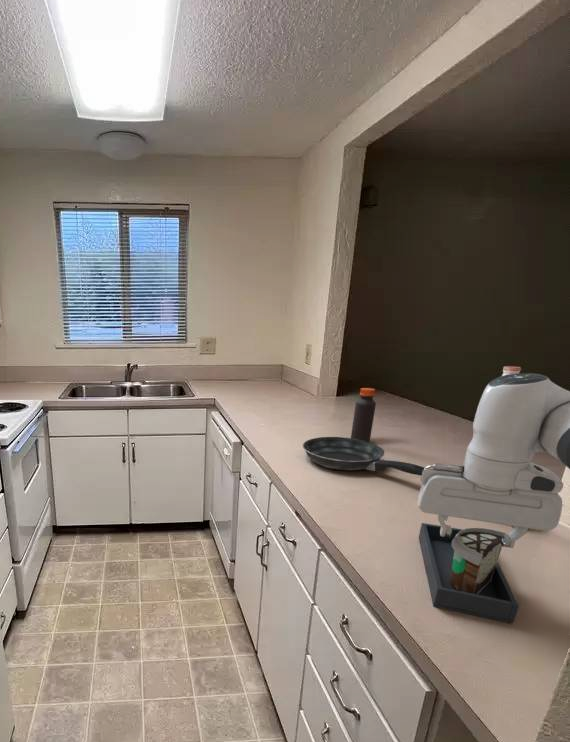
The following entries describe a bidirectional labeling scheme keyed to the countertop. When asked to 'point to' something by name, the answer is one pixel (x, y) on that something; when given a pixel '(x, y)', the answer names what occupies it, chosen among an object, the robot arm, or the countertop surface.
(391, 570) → the countertop surface
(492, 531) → the food container
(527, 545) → the countertop surface
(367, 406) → the bottle
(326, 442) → the frying pan
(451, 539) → the dark blue tray
